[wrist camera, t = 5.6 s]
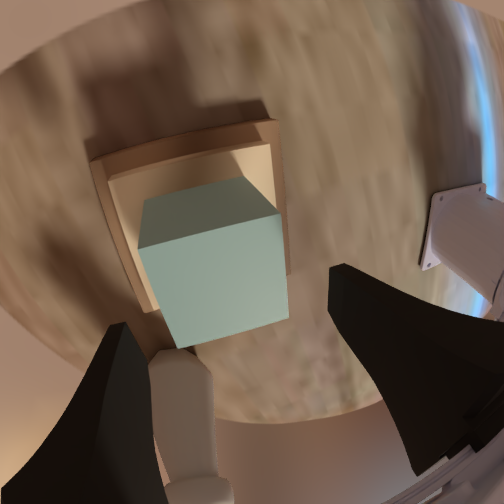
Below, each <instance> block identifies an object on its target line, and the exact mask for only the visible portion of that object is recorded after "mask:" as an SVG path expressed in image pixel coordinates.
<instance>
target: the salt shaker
mask: <svg viewBox="0 0 504 504" xmlns="http://www.w3.org/2000/svg"><path fill="white" fill-rule="evenodd" d="M148 370H149V377H150V384H151V402H152V422H153V434H154V437H155V440H156V443H157V446H158V449H159V452H160V455H161V458H162V461H163V463H164V466H165V469H166V471H167V474H168V476H169V479H170V481H171V482H170V483H168V484H167V485H166V486H165V487H164V489H165V493H166V496H167V499H168V502H169V504H234V495H233V489H232V487H231V485H230V483H229V481H228V480H227V479H225V478H222V477H218V465H217V450H216V436H215V416H214V384H213V376H212V374H211V372H210V371H209V370H208V369H207V367H206V366H205V365H204V364H203V363H202V362H201V361H200V359H199V358H198V357H197V356H195V355H193V354H191V353H190V352H188V351H186V350H185V349H183V348H179V349H178V348H174V349H166V350H159V351H158V352H157V354H156V355H155V356H154V358H153V359H152V360H151V361H150V363H149V364H148Z"/></svg>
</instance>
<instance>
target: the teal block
mask: <svg viewBox="0 0 504 504" xmlns="http://www.w3.org/2000/svg"><path fill="white" fill-rule="evenodd" d="M137 250H138V253H139V256H140V258H141V261H142V264H143V266H144V269H145V272H146V274H147V277H148V280H149V282H150V285H151V287H152V290H153V292H154V295H155V297H156V300H157V302H158V305H159V307H160V309H161V312H162V314H163V316H164V319H165V321H166V323H167V326H168V328H169V330H170V333H171V335H172V337H173V339H174V341H175V344H176V346H177V348H178V349H179V348H184V347H188V346H192V345H196V344H199V343H203V342H207V341H211V340H215V339H218V338H222V337H226V336H229V335H233V334H237V333H240V332H244V331H247V330H250V329H254V328H257V327H261V326H264V325H267V324H271V323H274V322H277V321H280V320H283V319H287V318H289V312H288V297H287V283H286V269H285V256H284V243H283V232H282V220H281V213H280V212H279V211H278V210H277V209H276V208H275V207H274V206H273V205H272V204H271V203H270V202H269V201H268V200H267V199H266V198H265V197H264V196H263V194H262V193H261V192H260V191H259V190H258V189H257V188H256V187H255V186H254V185H253V184H252V183H251V182H250V181H249V180H248V179H247V178H246V177H245V176H242V177H237V178H232V179H228V180H223V181H219V182H214V183H210V184H206V185H201V186H197V187H193V188H189V189H185V190H181V191H177V192H173V193H169V194H165V195H161V196H158V197H154V198H150V199H147V200H144V206H143V212H142V218H141V225H140V233H139V240H138V248H137Z"/></svg>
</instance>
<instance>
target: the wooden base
mask: <svg viewBox="0 0 504 504" xmlns="http://www.w3.org/2000/svg"><path fill="white" fill-rule="evenodd" d="M89 164H90V168H91V171H92V175H93V178H94V182H95V185H96V188H97V192H98V195H99V198H100V201H101V204H102V207H103V210H104V213H105V216H106V219H107V222H108V225H109V228H110V231H111V234H112V236H113V239H114V242H115V244H116V247H117V250H118V252H119V255H120V258H121V260H122V263H123V265H124V268H125V270H126V273H127V275H128V277H129V280H130V282H131V285H132V287H133V289H134V292H135V294H136V296H137V298H138V301H139V303H140V305H141V307H142V310H143V312H144V313H147V312H151V311H155V310H159V309H160V307H159V305H158V302H157V300H156V297H155V295H154V292H153V290H152V287H151V285H150V282H149V280H148V277H147V274H146V272H145V269H144V266H143V264H142V261H141V258H140V256H139V253H138V250H137V248H138V240H139V233H140V225H141V218H142V212H143V206H144V200H147V199H150V198H154V197H158V196H161V195H165V194H169V193H173V192H177V191H181V190H185V189H189V188H193V187H197V186H201V185H206V184H210V183H214V182H219V181H223V180H228V179H232V178H237V177H242V176H245V177H246V178H247V179H248V180H249V181H250V182H251V183H252V184H253V185H254V186H255V187H256V188H257V189H258V190H259V191H260V192H261V193H262V194H263V196H264V197H265V198H266V199H267V200H268V201H269V202H270V203H271V204H272V205H273V206H274V207H275V208H276V209H277V210H278V211H279V212H280V213H281V220H282V232H283V243H284V256H285V269H286V276H287V275H290V274H291V267H290V251H289V236H288V223H287V210H286V197H285V185H284V174H283V163H282V153H281V142H280V133H279V123H278V120H276V119H272V118H268V119H261V120H254V121H247V122H241V123H235V124H229V125H223V126H218V127H212V128H207V129H202V130H197V131H193V132H188V133H184V134H179V135H175V136H171V137H166V138H162V139H158V140H155V141H151V142H147V143H143V144H140V145H136V146H132V147H129V148H126V149H122V150H119V151H116V152H112V153H109V154H106V155H103V156H100V157H97V158H94V159H93V160H92V161H91V162H90V163H89Z"/></svg>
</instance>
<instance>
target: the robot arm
mask: <svg viewBox="0 0 504 504" xmlns="http://www.w3.org/2000/svg"><path fill="white" fill-rule="evenodd" d="M440 263H443V264H445V265H446V266H447V267H448V268H450V269H451V270H452V271H453V272H455V273H456V274H457V275H458V276H459V277H461V278H462V279H463V280H464V281H466V282H467V283H468V284H469V285H470V286H471V287H473V288H474V289H475V290H476V291H477V292H478V293H480V294H481V295H482V296H483V297H484V298H485V299H487V300H488V301H489V302H490V303H491V304H492V308H491V310H490V312H491V313H492V314H493V315H494V316H495V317H496V318H495V320H494V321H493V320H486V319H482V318H477V317H473V316H469V315H465V314H461V313H457V312H454V311H451V310H447V309H445V308H442V307H439V306H436V305H433V304H430V303H428V302H425V301H423V300H420V299H418V298H416V297H414V296H411V295H409V294H407V293H405V292H402V291H400V290H398V289H396V288H394V287H392V286H390V285H388V284H386V283H384V282H382V281H380V280H378V279H376V278H374V277H372V276H370V275H368V274H366V273H364V272H362V271H360V270H358V269H356V268H354V267H352V266H350V265H347V264H345V263H343V264H339V265H336V266H333V267H330V268H329V291H328V312H329V314H330V316H331V318H332V320H333V322H334V324H335V325H336V327H337V329H338V331H339V333H340V334H341V335H342V337H343V338H344V340H345V341H346V343H347V344H348V345H349V347H350V348H351V350H352V351H353V352H354V354H355V355H356V357H357V358H358V359H359V361H360V362H361V364H362V365H363V366H364V368H365V369H366V371H367V372H368V373H369V375H370V376H371V378H372V380H373V381H374V383H375V384H376V386H377V388H378V390H379V392H380V394H381V396H382V397H383V399H384V401H385V403H386V405H387V407H388V409H389V411H390V413H391V416H392V418H393V420H394V422H395V424H396V427H397V429H398V431H399V434H400V436H401V438H402V441H403V444H404V446H405V449H406V452H407V455H408V458H409V461H410V464H411V467H412V470H413V471H414V473H415V474H416V476H420V475H421V474H423V473H424V472H426V471H427V470H428V469H430V468H431V467H433V466H434V465H436V464H437V463H439V462H440V461H441V460H443V459H444V458H445V457H447V458H448V459H449V461H448V462H446V463H445V464H444V465H442V466H441V467H439V468H438V469H437V470H435V471H434V472H432V473H431V474H430V475H428V476H427V477H425V478H424V479H422V480H421V481H419V482H418V483H416V484H414V485H413V486H411V487H410V488H408V489H406V490H405V491H403V492H401V493H400V494H398V495H396V496H395V497H393V498H391V499H390V500H388V501H386V502H384V503H382V504H417V503H419V502H420V501H422V500H423V499H425V498H426V497H428V496H429V495H431V494H432V493H434V492H435V491H436V490H438V489H439V488H440V487H442V486H443V487H442V492H441V493H440V494H438V495H436V496H434V497H433V498H431V499H429V500H427V501H426V502H424V503H423V504H504V203H503V202H501V201H499V200H497V199H496V198H494V197H492V196H490V195H488V194H486V184H484V183H479V184H475V185H470V186H465V187H461V188H456V189H451V190H447V191H442V192H438V193H435V194H434V195H433V197H432V202H431V209H430V216H429V223H428V229H427V234H426V240H425V245H424V250H423V255H422V260H421V264H420V269H422V270H423V271H424V270H427V269H429V268H431V267H434V266H436V265H438V264H440ZM1 504H169V502H168V499H167V496H166V493H165V489H164V486H163V482H162V479H161V475H160V471H159V466H158V462H157V458H156V453H155V446H154V438H153V422H152V402H151V384H150V377H149V370H148V364H147V359H146V358H145V356H144V354H143V352H142V351H141V349H140V347H139V345H138V344H137V342H136V340H135V338H134V336H133V335H132V333H131V331H130V329H129V327H128V325H127V323H126V322H122V323H118V324H113V325H110V326H109V328H108V330H107V331H106V333H105V335H104V337H103V339H102V341H101V343H100V345H99V347H98V349H97V351H96V353H95V355H94V357H93V359H92V361H91V363H90V365H89V367H88V369H87V371H86V373H85V375H84V377H83V379H82V381H81V383H80V385H79V387H78V388H77V390H76V392H75V394H74V396H73V398H72V399H71V401H70V403H69V405H68V406H67V408H66V410H65V411H64V413H63V415H62V416H61V418H60V419H59V421H58V422H57V424H56V425H55V427H54V428H53V429H52V431H51V432H50V434H49V435H48V436H47V438H46V439H45V440H44V442H43V443H42V445H41V446H40V447H39V449H38V450H37V451H36V452H35V453H34V455H33V456H32V457H31V458H30V459H29V461H28V462H27V463H26V464H25V465H24V467H22V468H21V470H19V472H18V473H16V474H15V476H13V477H12V478H11V479H10V480H9V481H8V482H7V483H6V484H5V485H4V486H3V487H2V488H1Z"/></svg>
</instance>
